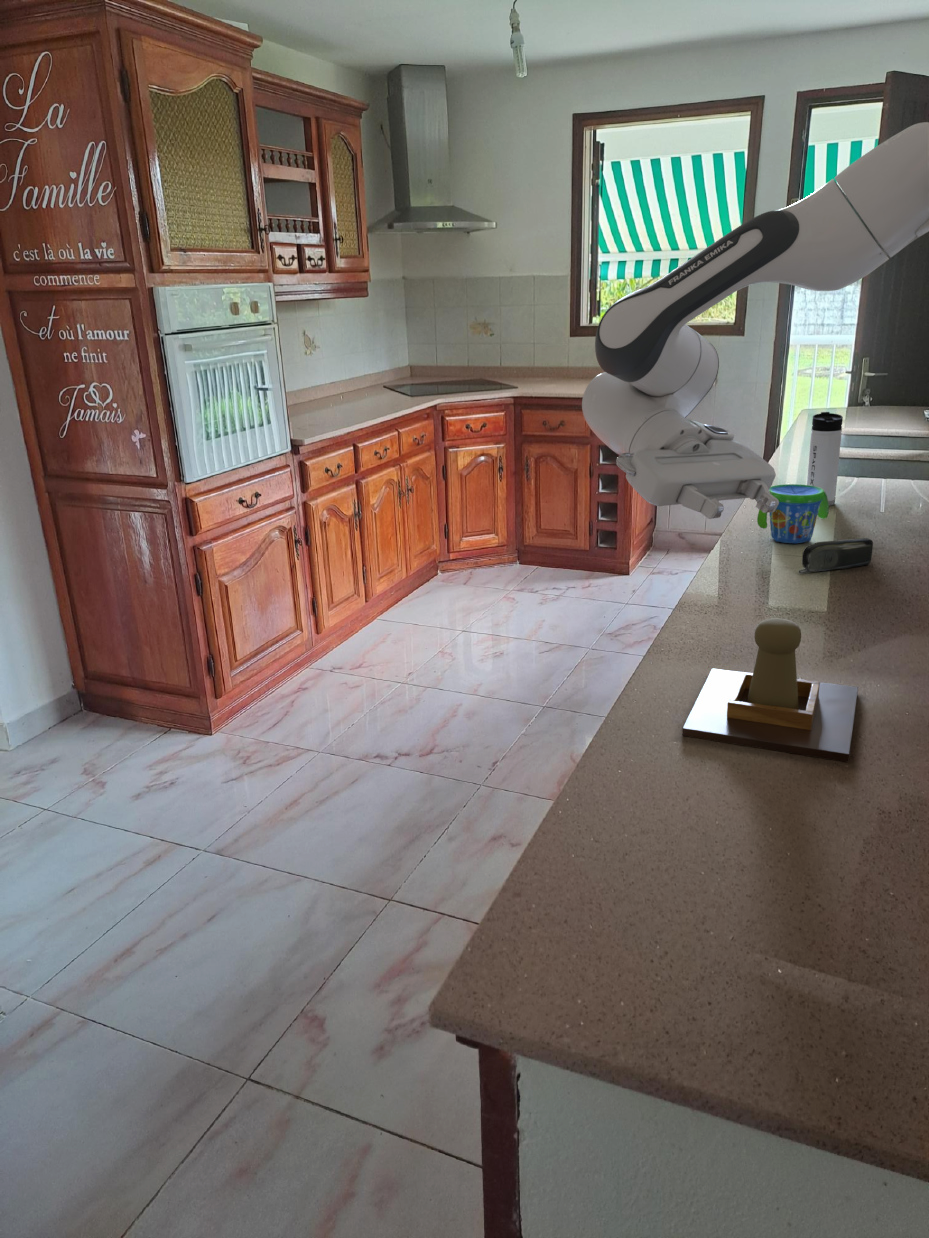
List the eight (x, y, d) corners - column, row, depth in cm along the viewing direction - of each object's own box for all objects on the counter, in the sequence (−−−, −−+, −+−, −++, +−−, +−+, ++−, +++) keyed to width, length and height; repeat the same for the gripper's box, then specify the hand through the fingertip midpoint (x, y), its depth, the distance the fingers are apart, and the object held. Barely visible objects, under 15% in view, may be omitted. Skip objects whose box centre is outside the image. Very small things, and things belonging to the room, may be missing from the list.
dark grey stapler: (865, 535, 158) (794, 544, 154) (877, 539, 156) (805, 548, 152) (862, 561, 160) (791, 571, 156) (874, 566, 157) (802, 575, 153)
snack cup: (809, 528, 181) (813, 480, 177) (842, 541, 171) (847, 490, 168) (741, 538, 178) (744, 488, 174) (771, 551, 168) (775, 499, 164)
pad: (711, 675, 118) (712, 654, 117) (857, 693, 111) (860, 672, 110) (682, 735, 103) (682, 712, 102) (848, 762, 96) (851, 738, 94)
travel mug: (831, 499, 202) (839, 411, 195) (837, 506, 196) (846, 415, 189) (802, 499, 204) (809, 412, 197) (808, 506, 198) (815, 416, 191)
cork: (793, 721, 103) (801, 634, 99) (741, 712, 106) (746, 627, 102) (803, 700, 108) (810, 616, 104) (752, 692, 110) (757, 610, 107)
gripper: (617, 432, 104) (692, 492, 95) (736, 428, 115) (813, 482, 106) (600, 478, 108) (671, 541, 99) (717, 470, 118) (790, 526, 109)
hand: (746, 510), depth 102 cm, fingers open, 8 cm apart
